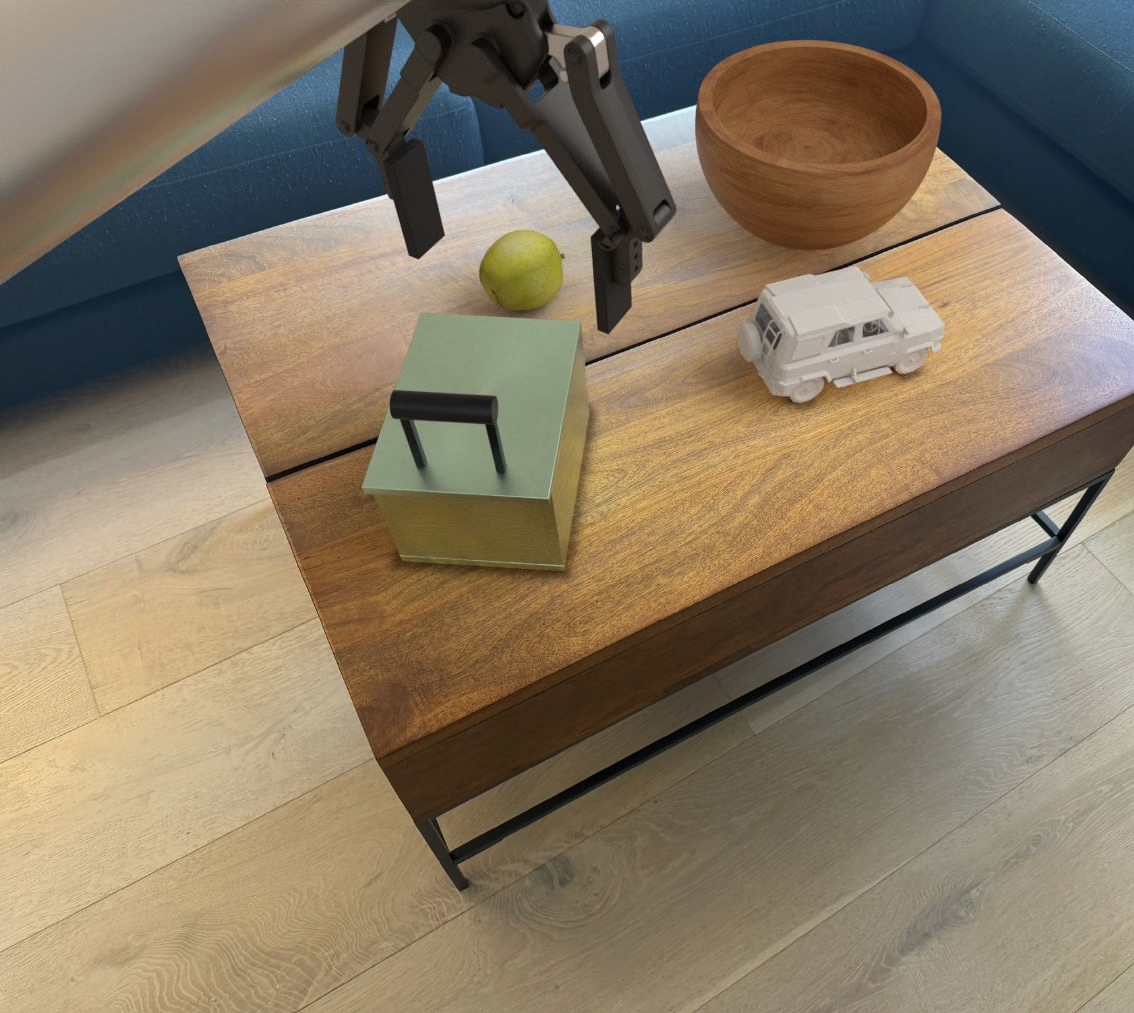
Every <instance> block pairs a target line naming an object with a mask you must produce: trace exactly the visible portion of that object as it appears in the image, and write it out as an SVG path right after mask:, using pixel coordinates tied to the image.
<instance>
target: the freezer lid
mask: <svg viewBox="0 0 1134 1013" xmlns="http://www.w3.org/2000/svg"><path fill="white" fill-rule="evenodd" d="M581 329H582V321H580V320H563V319H547V318H545V319H544V318H528V317H527V318H525V317H512V316H511V317H508V316H491V315H475V314H474V315H473V314H456V313H455V314H454V313H437V312H420V313H419V316H418V320H417V322H416V325H415V328H414V330H413V334H412V337H411V340H410V342H409V346H408V349H407V352H406V355H405V357H404V361H403V364H402V367H401V369H400V373H399V375H398V378H397V382H396V384H395V387H394V390H392V392H391V394H390V397H389V405H388V408H387V411H386V414H385V416H384V420H383V423H382V426H381V428H380V432H379V435H378V437H377V441H376V443H375V446H374V450H373V452H372V455H371V459H370V461H369V464H368V467H367V470H366V473H365V476H364V478H363V481H362V485H361V489H362V491H363V494H366V495H367V494H369V495H373V494H383V495H399V496H416V497H432V498H448V499H464V500H481V501H497V502H513V503H530V504H546V505H549V504H550V499H551V494H552V488H553V483H554V477H555V472H556V466H557V461H558V455H559V450H560V444H561V439H562V433H563V428H564V422H565V417H566V411H567V406H568V400H569V394H570V389H571V383H572V378H573V372H574V367H575V361H576V356H577V350H578V345H579V339H580V334H581Z"/></svg>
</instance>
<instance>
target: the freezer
mask: <svg viewBox="0 0 1134 1013" xmlns="http://www.w3.org/2000/svg"><path fill="white" fill-rule="evenodd" d="M584 348H585V347H584V338H583V329H582V328H581V334H580V339H579V345H578V350H577V356H576V361H575V367H574V372H573V378H572V383H571V389H570V394H569V400H568V406H567V411H566V417H565V422H564V428H563V433H562V439H561V444H560V450H559V455H558V461H557V466H556V472H555V477H554V483H553V488H552V494H551V499H550V504H549V505H546V504H530V503H513V502H497V501H481V500H464V499H448V498H432V497H416V496H399V495H383V494H372V495H373V497H374V500H375V502H376V504H377V507H378V509H379V511H380V513H381V516H382V518H383V520H384V523H385V525H386V527H387V530H388V532H389V534H390V537H391V539H392V542H393V543H394V546H395V549H396V550H397V553H398V555H399V558H400V559H401V562H410V563H423V564H424V563H425V564H442V565H457V566H470V567H471V566H472V567H473V566H474V567H487V568H502V569H503V568H504V569H518V570H519V569H521V570H535V571H551V572H565V569H566V564H567V563H566V562H567V556H568V552H569V551H568V550H569V544H570V537H571V531H572V526H573V520H574V512H575V507H576V500H577V494H578V488H579V481H580V475H581V469H582V463H583V456H584V451H585V445H586V439H587V438H586V437H587V434H588V427H589V419H590V403H589V402H590V401H589V393H588V392H589V391H588V382H587V381H588V380H587V371H586V361H585V360H586V359H585V350H584Z"/></svg>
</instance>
